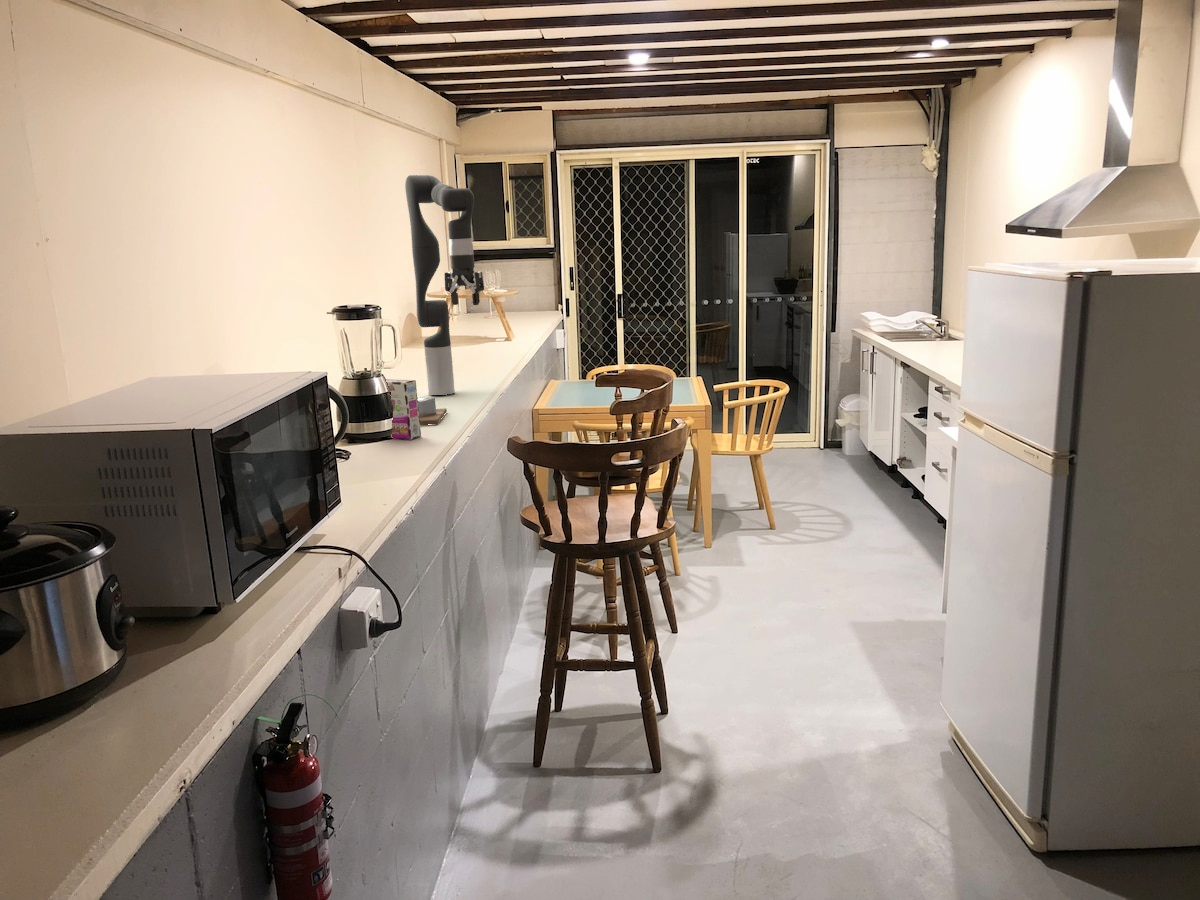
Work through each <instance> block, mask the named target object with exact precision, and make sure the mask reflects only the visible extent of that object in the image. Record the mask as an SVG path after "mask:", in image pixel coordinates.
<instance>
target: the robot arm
mask: <svg viewBox="0 0 1200 900" xmlns="http://www.w3.org/2000/svg"><path fill="white" fill-rule="evenodd" d="M404 186H405V187H404V189H405V198H406V202H407V210H408V216H409V223H410V235H411V251H412V252H411V254H412V260H413V269H414V270H413V271H414V277H415V298H416V316H417V318H416V319H417V323H418V325H419V327H420V328H434V327H435V328H439V331H437V332H436V333H435V334H432V335H430V336H427V337H425V338H424V340H423V346H424V357H425V367H426V369H425V370H426V377H427V379H426V380H427V389H428V395H429V396H430V395H446V396H448V395H447V394H451V395H453V394H452V393H454V392H455V393H456V390H455V380H454V369H453V368H454V367H453V357H452V356H453V355H452V346H451V345H452V344H451V334H450V316H449V315H450V312H449V305H448V303H447V301H446V300H444V299H433V300H427V299H426V295H427V291H428V289H429V285H430V283H431V281H432V279H433V277H434V276H435V273H436V272H437V271H438V268H439V265H440V262H441V255H440V254H441V253H440V252H441V251H440V244H439V240H438V238H437V236H436V235H435V233H434V232H433V230H432V229H431V227H430V226H429V225H428V223H427V222H426V220H425V219H424V217H423V214H422V211H421V207H420V204H433V203H435V205H437V206H439V207H441V209H442V210H443V211H444V212H446V213H448V212H449V213H454V212H461V214H460V216H459V218H455V219H452V220H449V221H448V225H447V226H448V227H447V229H448V238H449V239H448V241H449V242H448V247H449V261H450V269H451V270H452V271H450V272H449V271H446V272H444V290H445V291H446V292H449V294H450V300H451V303H452V305H453V306H458V305H459V293H458V291H459V290H460V289H461V287H462V286H463V287H467V288H468V289H470V291H471V293H472V294H471V297H472V305H473V306H479V304H480V302H481V300H480V293H481V292H482V291H484V290H485V285H484V276H483V272H482V271H476V272H475V270H474V268H475V266H476V265H475V257H474V255H475V254H474V245H473V240H472V228H471V225H472V217H473V213H474V212H473V211H474V206H475V196H474V193H473V191H472V190H471V189H470V188H469V187H467V188H466V187H462V188H461V187H459V188H458V187H457V188H455V187H453V186H452V185H448V184H445V183H443V182H442V181H441V180H440V179H439V178H437V177H435V176H434V175H429V174H428V175H427V174H426V175H425V174H424V175H421V174H419V175H418V174H417V175H415V174H412V175H411V174H409V175H408V176H407V177H406V178H405V185H404ZM455 393H454V394H455Z"/></svg>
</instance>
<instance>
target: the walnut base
mask: <svg viewBox="0 0 1200 900" xmlns="http://www.w3.org/2000/svg"><path fill="white" fill-rule="evenodd" d="M446 412H447V408H445V407H443V408H436V414H433V415H430V416H427V417H419V420H420V425H426V426H429V425H428V424H438V423H440V422H441V421H442V420H441V418H442V417H443V416H444V414H445V413H446ZM446 414H447V413H446ZM444 417H445V416H444ZM444 417H443V418H444ZM440 420H441V421H440ZM439 421H440V422H439ZM438 425H439V424H438Z"/></svg>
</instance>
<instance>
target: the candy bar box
mask: <svg viewBox="0 0 1200 900" xmlns="http://www.w3.org/2000/svg"><path fill="white" fill-rule="evenodd" d="M386 382H387V383H388V386H389V389H390V392H391V395H390V396H391V401H392V405H393V420H392V437H393V438H394V440H404V439H407V440H406V441H412V440H415V439H418V437H419V438H421V437H422V431H421V426H420V420H419V410H418V400H417V397H418V391H417V390H418V389H417V383H416V382H417V380H415V379H414V380H413V379H388V378H386ZM386 387H387V385H386ZM387 389H388V387H387ZM388 392H389V390H388Z"/></svg>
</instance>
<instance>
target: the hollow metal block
mask: <svg viewBox="0 0 1200 900" xmlns="http://www.w3.org/2000/svg"><path fill="white" fill-rule="evenodd" d="M419 398H427V399H426V400H422V401H420V400H418V410H419V417H427V416H430V415H433V414H436V409H437V407H436V406H437V405H436V397H432V396H431V397H429V396H428V397H427V396H417V399H419Z"/></svg>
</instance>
